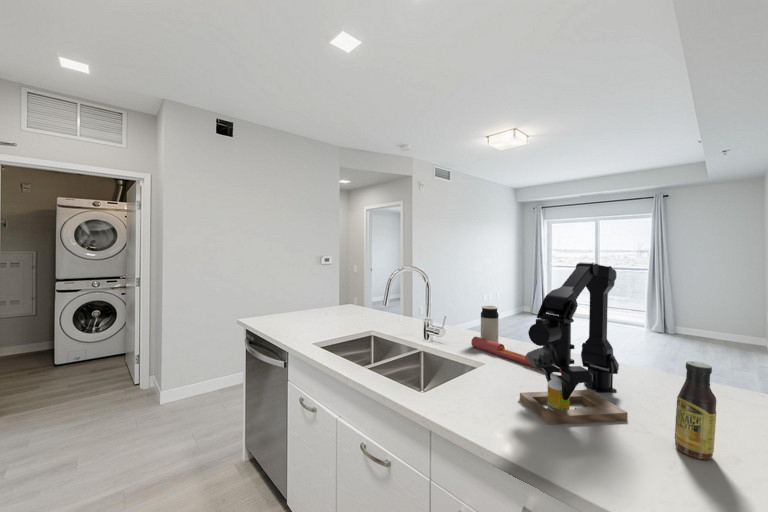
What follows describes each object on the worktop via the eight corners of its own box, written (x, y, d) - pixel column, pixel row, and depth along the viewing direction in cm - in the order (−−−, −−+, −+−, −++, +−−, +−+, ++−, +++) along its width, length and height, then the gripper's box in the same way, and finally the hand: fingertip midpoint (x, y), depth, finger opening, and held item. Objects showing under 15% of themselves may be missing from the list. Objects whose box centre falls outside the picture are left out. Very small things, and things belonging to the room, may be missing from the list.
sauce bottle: (666, 444, 74) (668, 358, 73) (691, 443, 74) (693, 357, 74) (697, 463, 67) (698, 369, 67) (724, 461, 68) (726, 368, 67)
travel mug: (500, 347, 148) (501, 308, 148) (483, 347, 148) (483, 308, 148) (495, 342, 156) (495, 305, 156) (478, 342, 156) (478, 305, 156)
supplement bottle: (561, 416, 86) (561, 380, 86) (543, 407, 91) (543, 373, 91) (573, 411, 89) (573, 376, 88) (555, 403, 93) (555, 369, 93)
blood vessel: (471, 347, 148) (471, 337, 148) (478, 346, 150) (478, 335, 150) (561, 378, 112) (562, 364, 112) (569, 375, 115) (569, 362, 115)
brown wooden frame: (588, 396, 98) (588, 389, 98) (627, 420, 84) (627, 412, 84) (519, 399, 96) (519, 392, 96) (548, 424, 82) (548, 416, 82)
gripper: (514, 331, 98) (514, 382, 98) (552, 351, 79) (552, 413, 80) (548, 330, 99) (548, 380, 99) (594, 349, 80) (593, 411, 81)
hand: (558, 394), depth 90 cm, fingers closed on supplement bottle, 5 cm apart
